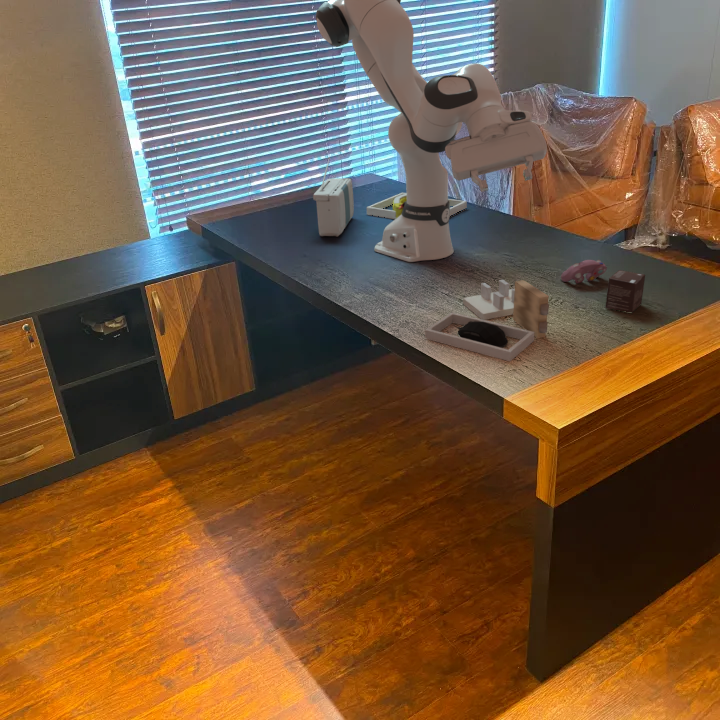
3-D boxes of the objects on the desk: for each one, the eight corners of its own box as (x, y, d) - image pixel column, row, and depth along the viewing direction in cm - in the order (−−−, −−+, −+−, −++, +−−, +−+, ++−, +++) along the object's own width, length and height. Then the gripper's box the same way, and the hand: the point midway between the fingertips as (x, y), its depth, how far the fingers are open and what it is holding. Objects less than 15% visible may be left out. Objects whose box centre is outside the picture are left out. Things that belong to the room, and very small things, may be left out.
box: (615, 299, 161) (619, 269, 158) (641, 305, 158) (646, 274, 154) (604, 308, 157) (608, 277, 154) (631, 314, 154) (635, 283, 150)
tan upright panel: (513, 320, 155) (515, 281, 150) (521, 318, 155) (523, 279, 151) (540, 340, 145) (543, 299, 141) (548, 338, 146) (551, 298, 141)
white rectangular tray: (366, 214, 233) (366, 207, 232) (402, 199, 247) (402, 192, 246) (432, 225, 219) (432, 217, 217) (466, 208, 233) (466, 201, 232)
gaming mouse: (463, 323, 156) (463, 306, 154) (514, 345, 145) (514, 327, 143) (441, 331, 152) (441, 314, 151) (492, 354, 142) (493, 336, 140)
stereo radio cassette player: (342, 238, 213) (337, 171, 203) (315, 238, 214) (310, 171, 205) (355, 218, 231) (351, 155, 221) (330, 218, 232) (325, 156, 223)
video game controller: (566, 291, 171) (575, 271, 165) (558, 277, 174) (566, 257, 168) (602, 285, 173) (612, 265, 168) (593, 272, 176) (603, 251, 170)
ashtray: (385, 222, 226) (385, 206, 224) (398, 204, 244) (398, 189, 241) (436, 223, 222) (436, 207, 220) (446, 205, 240) (446, 190, 237)
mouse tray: (425, 338, 149) (424, 329, 148) (451, 320, 156) (451, 312, 155) (509, 361, 138) (510, 352, 137) (533, 340, 145) (534, 332, 144)
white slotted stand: (463, 303, 164) (463, 285, 162) (517, 293, 167) (517, 275, 165) (483, 320, 155) (483, 301, 153) (539, 309, 159) (540, 290, 157)
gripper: (442, 134, 151) (457, 188, 146) (537, 109, 149) (555, 163, 145) (443, 151, 157) (458, 204, 152) (534, 127, 155) (552, 180, 150)
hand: (506, 184), depth 148 cm, fingers open, 8 cm apart
